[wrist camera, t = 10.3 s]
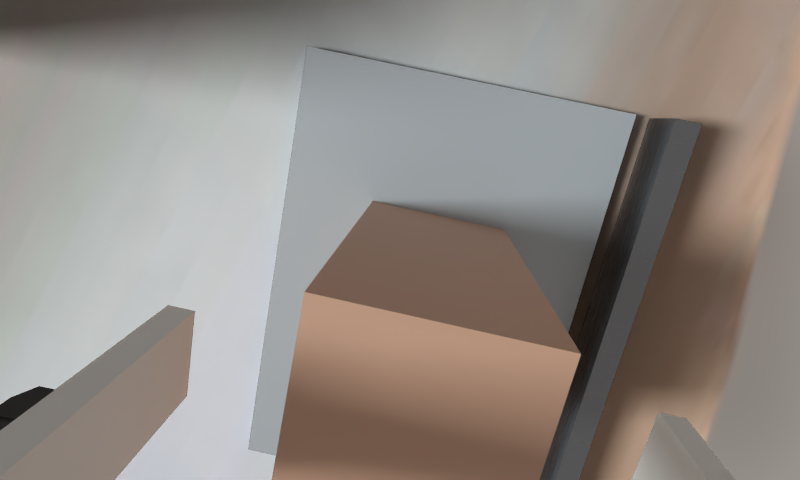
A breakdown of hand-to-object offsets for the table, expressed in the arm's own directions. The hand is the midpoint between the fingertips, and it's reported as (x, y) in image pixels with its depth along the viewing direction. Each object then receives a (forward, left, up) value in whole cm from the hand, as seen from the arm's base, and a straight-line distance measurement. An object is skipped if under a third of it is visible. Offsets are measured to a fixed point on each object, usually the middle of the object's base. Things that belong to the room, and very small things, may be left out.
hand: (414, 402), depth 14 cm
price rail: (+1, +8, -10) cm, 13 cm away
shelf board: (+1, 0, -10) cm, 10 cm away
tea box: (0, 0, -9) cm, 9 cm away
